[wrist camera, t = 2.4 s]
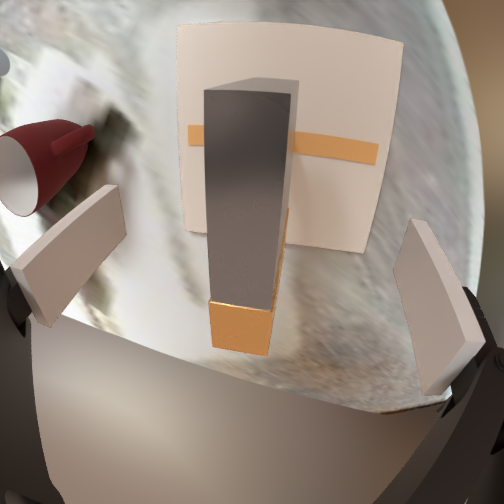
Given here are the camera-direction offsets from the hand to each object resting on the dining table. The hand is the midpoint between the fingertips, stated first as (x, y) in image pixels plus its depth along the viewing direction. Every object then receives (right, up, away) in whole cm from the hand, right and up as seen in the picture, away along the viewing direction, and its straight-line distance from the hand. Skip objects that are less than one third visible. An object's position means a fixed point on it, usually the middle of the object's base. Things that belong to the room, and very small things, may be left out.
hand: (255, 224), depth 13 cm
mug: (-18, +11, +14) cm, 26 cm away
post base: (+2, +9, +12) cm, 15 cm away
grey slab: (+1, +4, +5) cm, 6 cm away
